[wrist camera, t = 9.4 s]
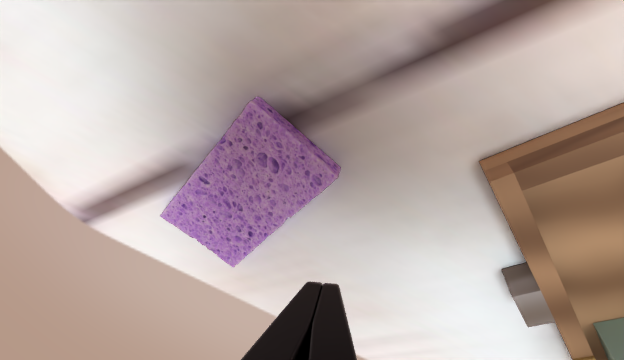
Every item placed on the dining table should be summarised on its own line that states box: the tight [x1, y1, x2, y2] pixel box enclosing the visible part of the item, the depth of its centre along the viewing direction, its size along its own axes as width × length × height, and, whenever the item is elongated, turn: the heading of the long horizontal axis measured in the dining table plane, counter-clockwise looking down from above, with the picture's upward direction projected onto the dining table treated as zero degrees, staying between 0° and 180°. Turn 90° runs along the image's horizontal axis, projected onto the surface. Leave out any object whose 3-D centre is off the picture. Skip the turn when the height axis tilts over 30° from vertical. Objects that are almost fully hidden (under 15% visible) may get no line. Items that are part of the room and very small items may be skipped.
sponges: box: [160, 97, 341, 267], centre depth 24 cm, size 7×13×2 cm, turn 139°
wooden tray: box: [479, 103, 624, 360], centre depth 20 cm, size 20×12×3 cm, turn 33°
